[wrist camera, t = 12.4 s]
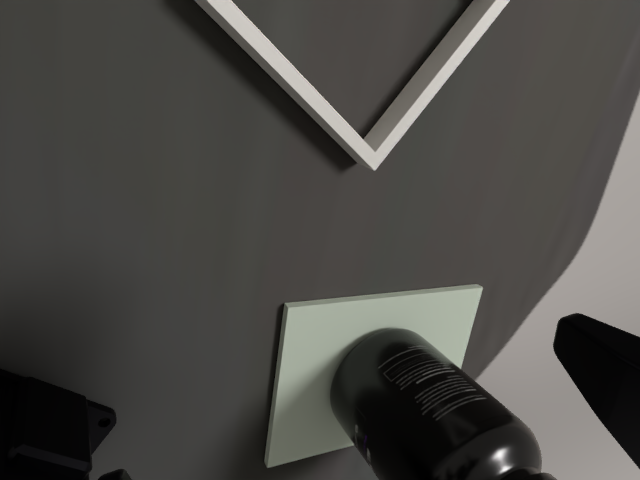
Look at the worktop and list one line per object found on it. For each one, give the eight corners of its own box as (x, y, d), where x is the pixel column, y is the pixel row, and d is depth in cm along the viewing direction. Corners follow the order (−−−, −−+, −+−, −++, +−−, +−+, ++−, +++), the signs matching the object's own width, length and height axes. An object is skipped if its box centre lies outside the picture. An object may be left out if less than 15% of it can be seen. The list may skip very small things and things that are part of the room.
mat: (264, 461, 27) (267, 468, 27) (284, 303, 24) (288, 307, 24) (441, 415, 33) (446, 420, 33) (477, 284, 30) (482, 287, 30)
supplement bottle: (304, 417, 27) (447, 642, 17) (361, 311, 26) (547, 483, 16) (391, 429, 31) (549, 619, 21) (443, 337, 30) (635, 489, 20)
